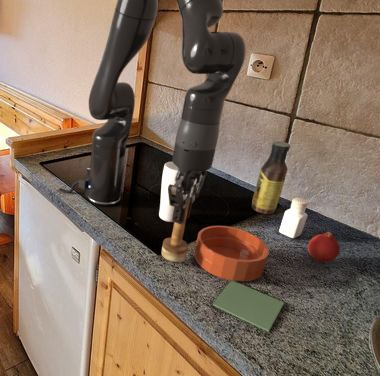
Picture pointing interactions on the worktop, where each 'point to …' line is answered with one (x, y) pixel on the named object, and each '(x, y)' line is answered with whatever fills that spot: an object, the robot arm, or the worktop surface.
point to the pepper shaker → (294, 218)
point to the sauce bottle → (271, 179)
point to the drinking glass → (167, 179)
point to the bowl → (231, 253)
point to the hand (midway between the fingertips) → (180, 219)
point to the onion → (323, 248)
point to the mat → (249, 305)
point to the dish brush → (176, 242)
